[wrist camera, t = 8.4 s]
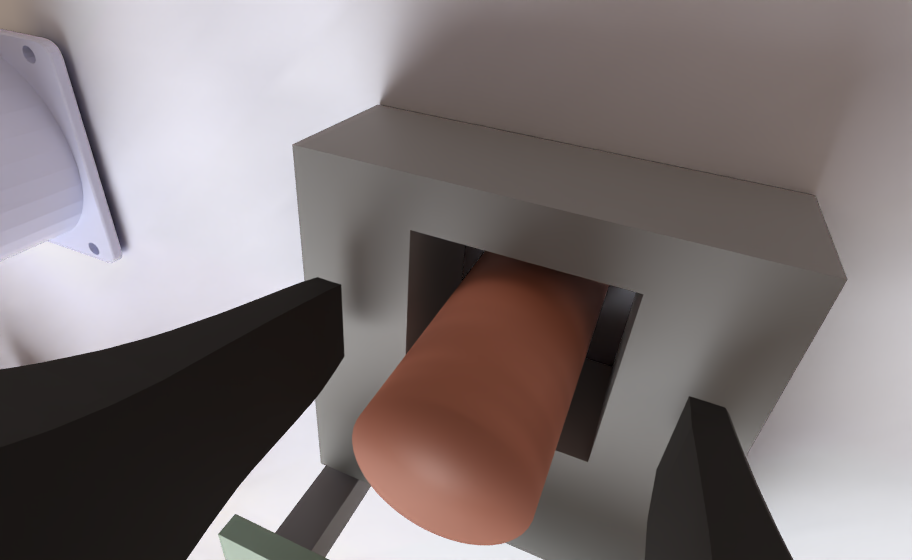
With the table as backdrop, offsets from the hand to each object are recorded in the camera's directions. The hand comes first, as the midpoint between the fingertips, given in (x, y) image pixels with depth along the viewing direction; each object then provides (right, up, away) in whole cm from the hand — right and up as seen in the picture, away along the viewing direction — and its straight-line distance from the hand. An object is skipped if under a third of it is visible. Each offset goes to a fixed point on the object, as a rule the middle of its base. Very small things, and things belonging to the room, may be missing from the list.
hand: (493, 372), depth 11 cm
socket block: (+1, 0, +5) cm, 5 cm away
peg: (+2, +2, +3) cm, 4 cm away
